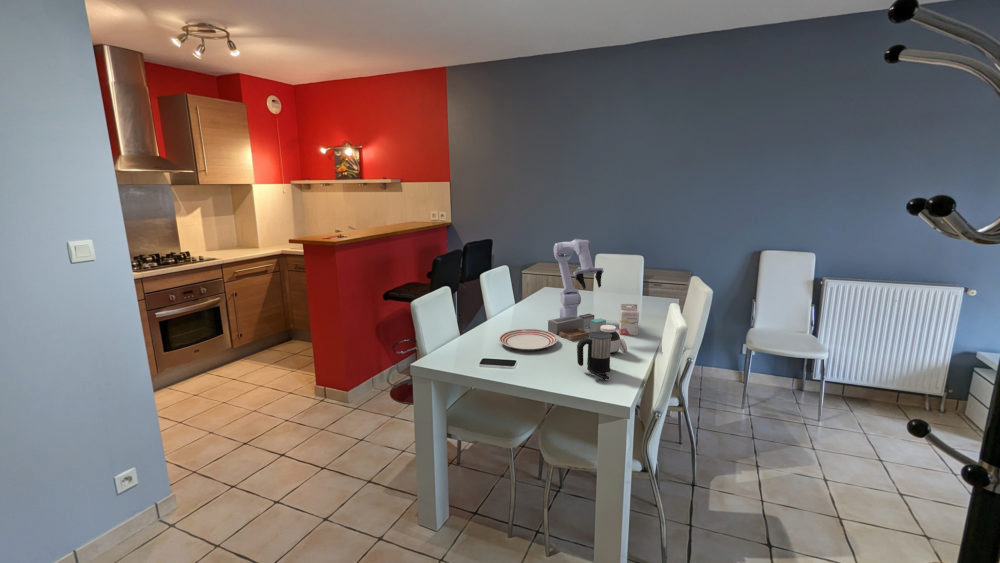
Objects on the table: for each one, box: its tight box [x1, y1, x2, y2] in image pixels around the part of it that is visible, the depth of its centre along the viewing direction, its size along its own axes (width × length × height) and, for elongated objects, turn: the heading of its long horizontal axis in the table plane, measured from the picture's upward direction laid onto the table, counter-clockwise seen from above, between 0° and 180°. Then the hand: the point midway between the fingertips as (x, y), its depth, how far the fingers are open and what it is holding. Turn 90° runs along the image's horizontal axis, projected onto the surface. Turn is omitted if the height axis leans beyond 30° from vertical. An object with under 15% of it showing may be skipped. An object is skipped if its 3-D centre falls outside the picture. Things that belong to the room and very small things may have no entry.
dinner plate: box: [498, 328, 558, 351], centre depth 222 cm, size 28×27×3 cm
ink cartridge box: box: [618, 303, 640, 336], centre depth 234 cm, size 9×5×15 cm, turn 84°
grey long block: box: [547, 315, 584, 336], centre depth 241 cm, size 7×17×6 cm, turn 123°
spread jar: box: [600, 324, 628, 356], centre depth 209 cm, size 12×11×12 cm
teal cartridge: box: [589, 318, 607, 333], centre depth 238 cm, size 4×7×6 cm, turn 123°
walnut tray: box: [558, 328, 591, 342], centre depth 231 cm, size 9×12×2 cm
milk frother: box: [576, 331, 612, 381], centre depth 184 cm, size 14×16×15 cm
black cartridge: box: [578, 313, 595, 329], centre depth 247 cm, size 4×7×6 cm, turn 123°
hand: (592, 287), depth 227 cm, fingers open, 7 cm apart
